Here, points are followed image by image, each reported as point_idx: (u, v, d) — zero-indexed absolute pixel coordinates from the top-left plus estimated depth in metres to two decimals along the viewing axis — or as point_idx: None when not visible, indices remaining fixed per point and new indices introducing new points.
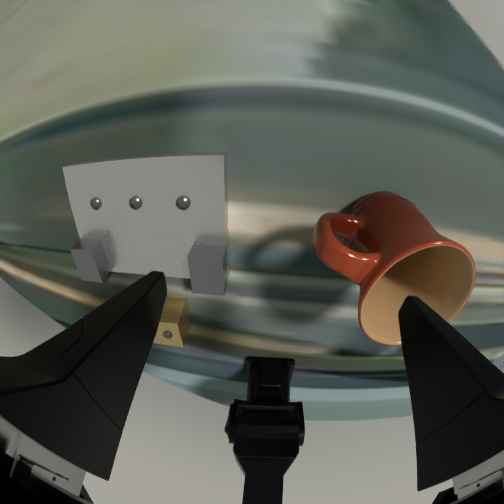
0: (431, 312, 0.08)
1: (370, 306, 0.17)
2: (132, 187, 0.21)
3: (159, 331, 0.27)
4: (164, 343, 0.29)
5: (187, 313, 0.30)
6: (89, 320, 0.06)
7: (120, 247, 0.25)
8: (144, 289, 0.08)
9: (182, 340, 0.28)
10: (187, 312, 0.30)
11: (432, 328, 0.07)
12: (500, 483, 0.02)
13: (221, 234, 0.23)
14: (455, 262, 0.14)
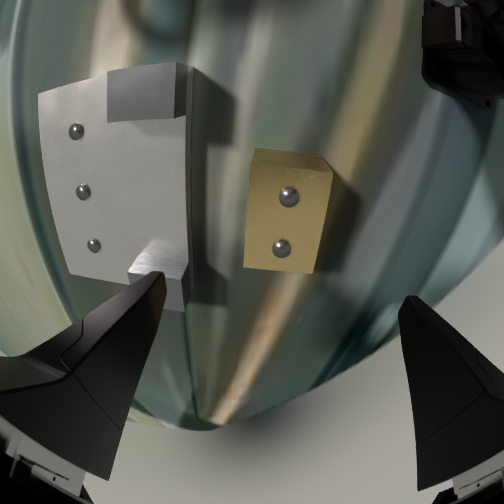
0: (431, 312, 0.08)
1: None
2: (69, 192, 0.17)
3: (279, 212, 0.14)
4: (320, 215, 0.14)
5: (282, 153, 0.15)
6: (89, 320, 0.06)
7: (144, 231, 0.18)
8: (144, 289, 0.08)
9: (312, 169, 0.13)
10: (286, 152, 0.15)
11: (432, 328, 0.07)
12: (500, 483, 0.02)
13: None
14: None
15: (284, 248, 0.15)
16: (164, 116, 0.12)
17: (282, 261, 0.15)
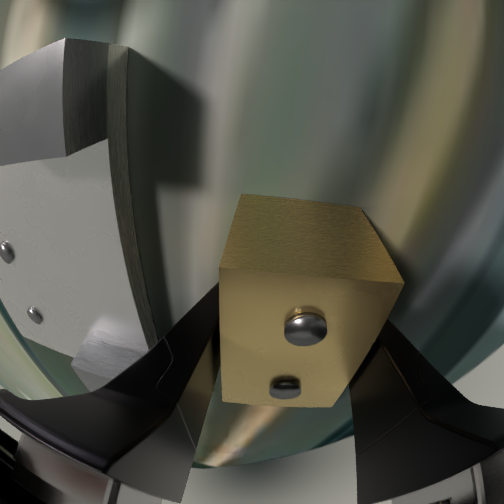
0: None
1: None
2: None
3: (283, 349, 0.07)
4: (360, 348, 0.07)
5: (292, 209, 0.08)
6: (173, 339, 0.06)
7: (84, 312, 0.11)
8: None
9: (362, 274, 0.06)
10: (299, 206, 0.08)
11: None
12: None
13: None
14: None
15: (290, 391, 0.08)
16: (51, 153, 0.05)
17: None
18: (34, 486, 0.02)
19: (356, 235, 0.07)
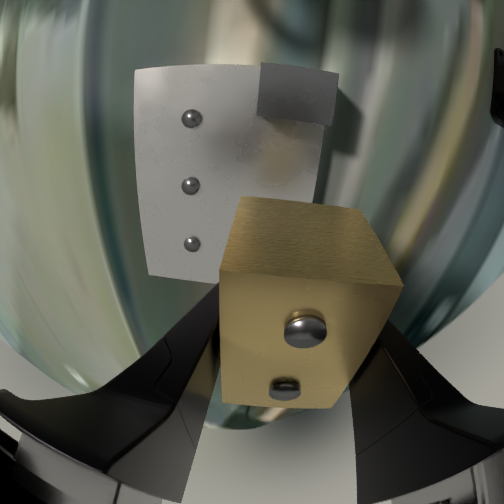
0: None
1: None
2: (170, 185, 0.17)
3: (283, 351, 0.07)
4: (360, 350, 0.07)
5: (293, 211, 0.08)
6: (174, 339, 0.06)
7: None
8: None
9: (362, 276, 0.06)
10: (299, 208, 0.08)
11: None
12: None
13: (242, 70, 0.13)
14: None
15: (289, 392, 0.08)
16: (323, 122, 0.13)
17: None
18: (34, 486, 0.02)
19: (356, 237, 0.07)
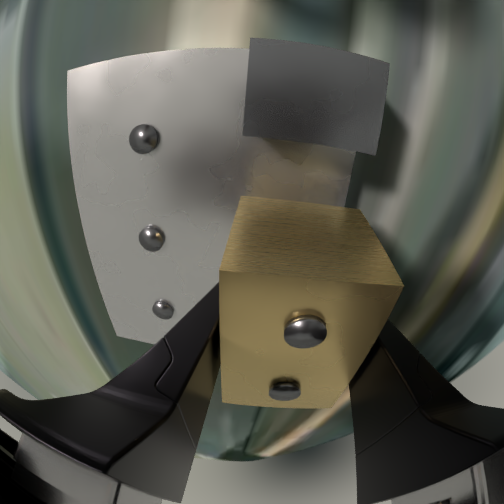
0: None
1: None
2: (125, 236, 0.12)
3: (283, 351, 0.07)
4: (360, 350, 0.07)
5: (293, 211, 0.08)
6: (174, 339, 0.06)
7: None
8: None
9: (362, 276, 0.06)
10: (299, 208, 0.08)
11: None
12: None
13: (221, 57, 0.08)
14: None
15: (289, 392, 0.08)
16: (360, 148, 0.07)
17: None
18: (34, 486, 0.02)
19: (356, 237, 0.07)
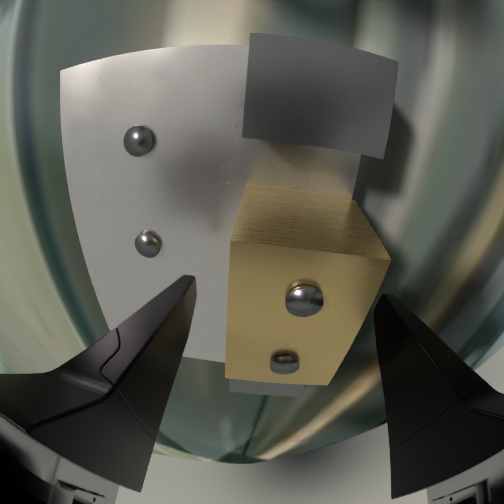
0: (406, 311, 0.08)
1: None
2: (120, 242, 0.11)
3: (284, 320, 0.08)
4: (354, 322, 0.07)
5: (293, 198, 0.09)
6: (125, 329, 0.06)
7: None
8: (179, 294, 0.08)
9: (354, 250, 0.06)
10: (299, 195, 0.09)
11: (405, 328, 0.07)
12: (473, 500, 0.02)
13: (220, 54, 0.07)
14: None
15: (289, 365, 0.08)
16: (368, 151, 0.07)
17: (284, 375, 0.09)
18: None
19: (349, 220, 0.08)
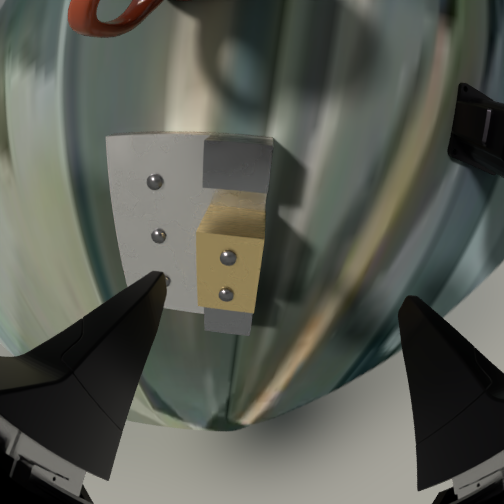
0: (431, 312, 0.08)
1: None
2: (142, 235, 0.21)
3: (221, 268, 0.17)
4: (255, 271, 0.17)
5: (230, 212, 0.18)
6: (89, 320, 0.06)
7: None
8: (144, 289, 0.08)
9: (247, 235, 0.16)
10: (234, 210, 0.19)
11: (432, 328, 0.07)
12: (500, 483, 0.02)
13: (193, 139, 0.17)
14: None
15: (227, 294, 0.18)
16: (259, 190, 0.16)
17: (228, 303, 0.19)
18: None
19: (254, 223, 0.17)
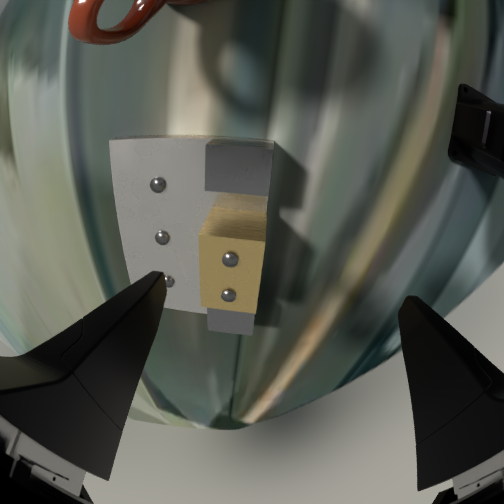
0: (431, 312, 0.08)
1: None
2: (146, 236, 0.21)
3: (224, 270, 0.17)
4: (256, 272, 0.17)
5: (232, 214, 0.19)
6: (89, 320, 0.06)
7: None
8: (144, 289, 0.08)
9: (248, 238, 0.16)
10: (236, 213, 0.19)
11: (432, 328, 0.07)
12: (500, 483, 0.02)
13: (195, 143, 0.17)
14: None
15: (230, 295, 0.18)
16: (260, 193, 0.17)
17: (230, 304, 0.19)
18: None
19: (255, 225, 0.18)
